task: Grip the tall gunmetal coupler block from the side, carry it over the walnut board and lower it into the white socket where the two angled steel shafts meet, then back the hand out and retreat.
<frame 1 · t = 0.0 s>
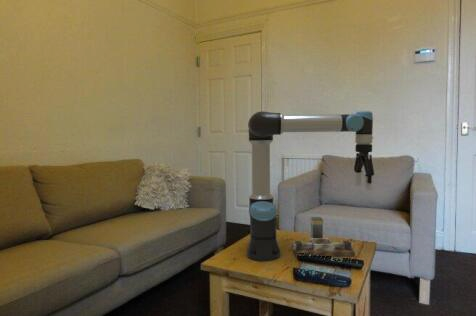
hand: (363, 187, 163), 28 cm above the table, tool pointing down, fingers open, 13 cm apart
shaft board: (321, 252, 155), on the table
coupler: (316, 244, 166), on the table
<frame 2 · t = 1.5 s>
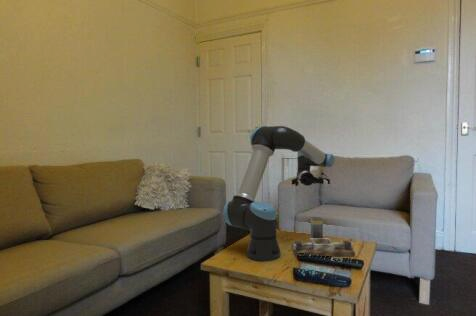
hand: (313, 184, 173), 28 cm above the table, tool horizontal, fingers open, 13 cm apart
nothing on the table moved.
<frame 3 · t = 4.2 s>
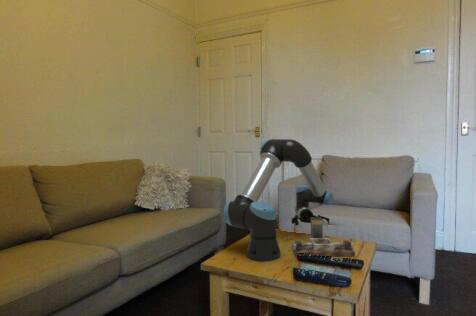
hand: (313, 225, 174), 7 cm above the table, tool horizontal, fingers open, 13 cm apart
nothing on the table moved.
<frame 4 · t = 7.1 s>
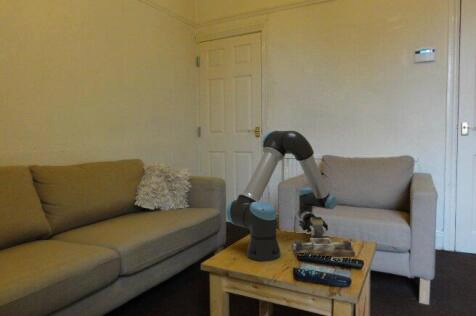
hand: (319, 232, 161), 8 cm above the table, tool horizontal, fingers closed on coupler, 5 cm apart
coupler: (316, 244, 166), on the table, touching gripper
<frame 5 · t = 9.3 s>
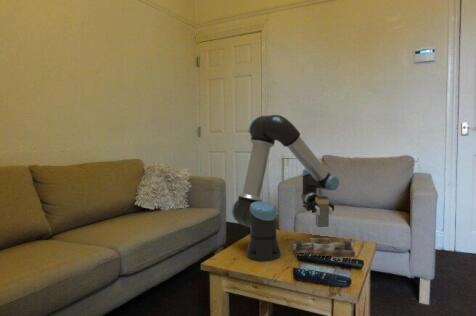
hand: (325, 212, 149), 20 cm above the table, tool horizontal, fingers closed on coupler, 5 cm apart
coupler: (322, 225, 155), point 12 cm above the table, touching gripper
when the fingers open (11 cm above the table, at t = 11.6 s): coupler drops 1 cm, resting on shaft board.
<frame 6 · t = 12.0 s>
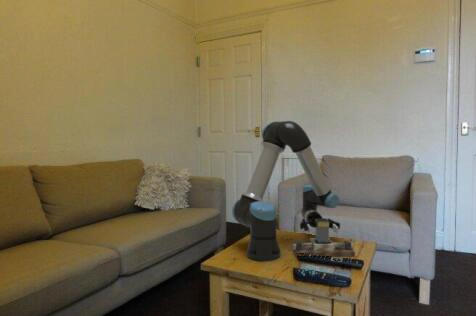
hand: (324, 230, 151), 11 cm above the table, tool horizontal, fingers open, 11 cm apart
coupler: (321, 247, 155), point 2 cm above the table, touching shaft board
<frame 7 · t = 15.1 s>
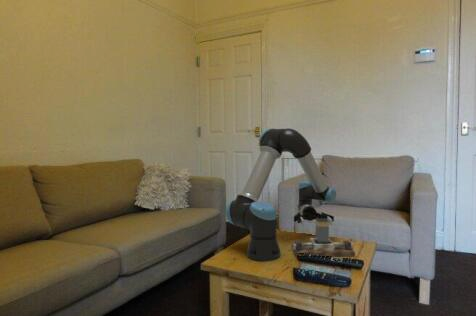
hand: (317, 222, 164), 11 cm above the table, tool horizontal, fingers open, 13 cm apart
nothing on the table moved.
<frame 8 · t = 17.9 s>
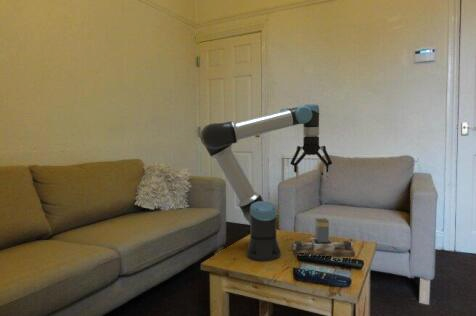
hand: (311, 179, 168), 32 cm above the table, tool pointing down, fingers open, 13 cm apart
nothing on the table moved.
at the end: coupler 0.0 cm off-centre on the shaft board, point 2.0 cm above the shaft board's base; coupler tilted 0°; the gripper is holding nothing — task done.
